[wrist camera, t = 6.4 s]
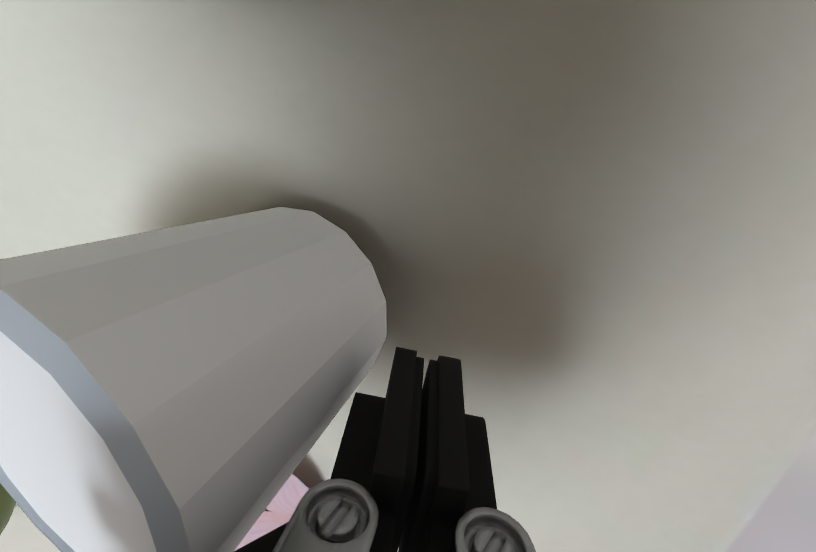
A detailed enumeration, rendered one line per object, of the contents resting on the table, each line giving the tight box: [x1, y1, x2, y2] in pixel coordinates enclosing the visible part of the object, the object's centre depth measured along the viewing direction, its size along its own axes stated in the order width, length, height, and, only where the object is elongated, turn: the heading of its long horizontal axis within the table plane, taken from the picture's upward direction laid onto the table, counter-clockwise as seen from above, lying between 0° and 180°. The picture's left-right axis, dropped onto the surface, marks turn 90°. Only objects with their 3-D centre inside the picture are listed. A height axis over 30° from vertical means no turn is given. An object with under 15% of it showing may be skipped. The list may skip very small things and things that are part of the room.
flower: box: [234, 474, 309, 551], centre depth 18 cm, size 10×10×2 cm
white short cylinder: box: [0, 207, 387, 552], centre depth 10 cm, size 7×7×7 cm
